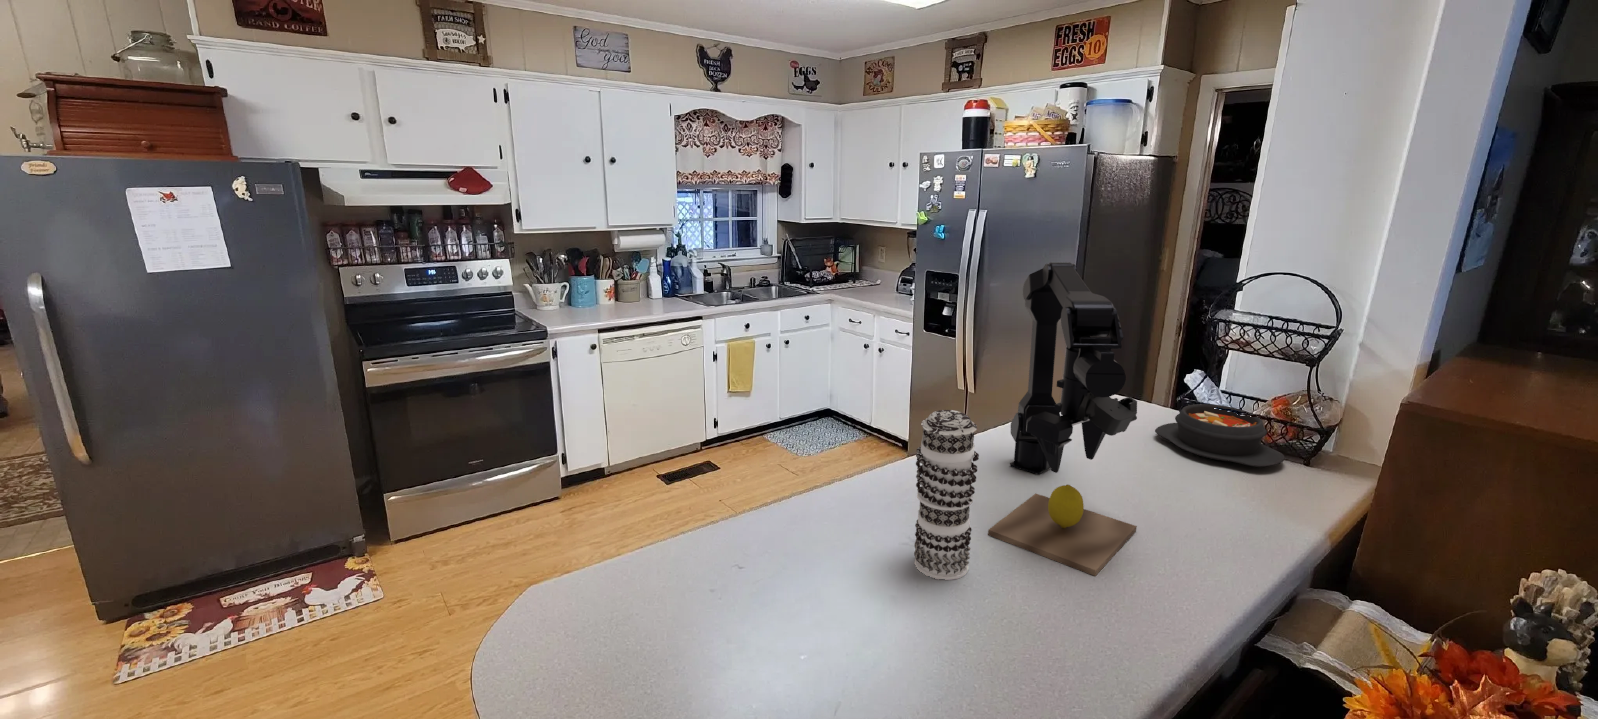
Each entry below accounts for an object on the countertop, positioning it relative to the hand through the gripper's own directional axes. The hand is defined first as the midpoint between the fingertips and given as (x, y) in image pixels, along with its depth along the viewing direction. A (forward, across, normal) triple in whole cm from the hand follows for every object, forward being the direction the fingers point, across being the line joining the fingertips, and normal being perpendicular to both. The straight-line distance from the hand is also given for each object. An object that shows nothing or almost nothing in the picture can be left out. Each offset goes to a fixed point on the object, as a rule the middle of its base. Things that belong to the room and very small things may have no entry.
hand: (1072, 465), depth 115 cm
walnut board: (+12, -2, -1) cm, 12 cm away
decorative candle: (+12, -26, +3) cm, 29 cm away
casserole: (+12, +55, +3) cm, 56 cm away
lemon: (+11, -2, -1) cm, 11 cm away
